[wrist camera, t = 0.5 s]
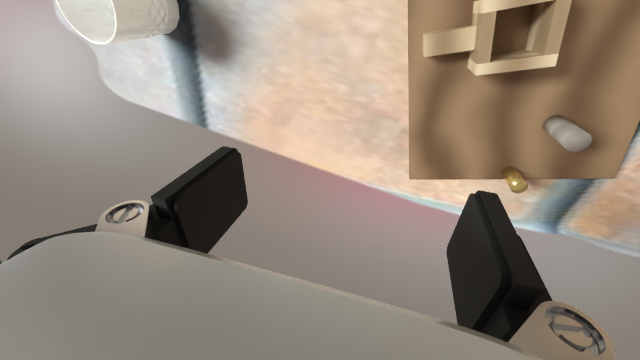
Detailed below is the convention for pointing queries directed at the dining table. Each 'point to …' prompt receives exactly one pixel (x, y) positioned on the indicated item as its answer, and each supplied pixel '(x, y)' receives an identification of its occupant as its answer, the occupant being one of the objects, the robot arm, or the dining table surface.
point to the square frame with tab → (478, 37)
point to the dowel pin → (514, 179)
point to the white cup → (120, 18)
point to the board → (525, 96)
